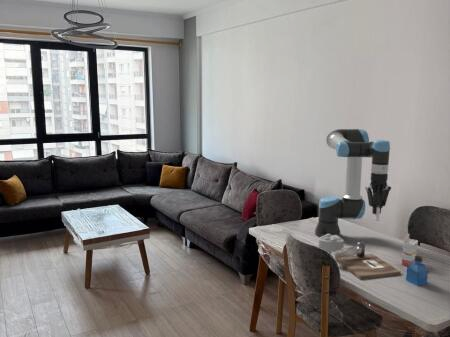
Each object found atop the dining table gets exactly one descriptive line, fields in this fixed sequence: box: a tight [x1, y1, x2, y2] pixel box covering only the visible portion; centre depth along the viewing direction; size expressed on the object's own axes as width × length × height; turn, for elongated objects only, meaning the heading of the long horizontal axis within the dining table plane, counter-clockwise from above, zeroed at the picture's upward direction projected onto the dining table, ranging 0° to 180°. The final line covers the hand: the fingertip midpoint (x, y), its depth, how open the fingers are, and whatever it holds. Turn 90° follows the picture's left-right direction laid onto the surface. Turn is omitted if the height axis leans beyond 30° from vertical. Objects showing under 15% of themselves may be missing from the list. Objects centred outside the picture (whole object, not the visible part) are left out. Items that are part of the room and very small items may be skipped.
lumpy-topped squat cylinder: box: [317, 234, 345, 254], centre depth 225 cm, size 10×13×9 cm
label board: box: [335, 253, 402, 280], centre depth 204 cm, size 23×22×2 cm
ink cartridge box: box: [401, 233, 419, 267], centre depth 208 cm, size 9×5×15 cm, turn 141°
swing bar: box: [330, 240, 366, 260], centre depth 210 cm, size 21×4×7 cm, turn 118°
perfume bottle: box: [405, 255, 429, 287], centre depth 188 cm, size 6×6×12 cm
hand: (376, 220), depth 200 cm, fingers closed
